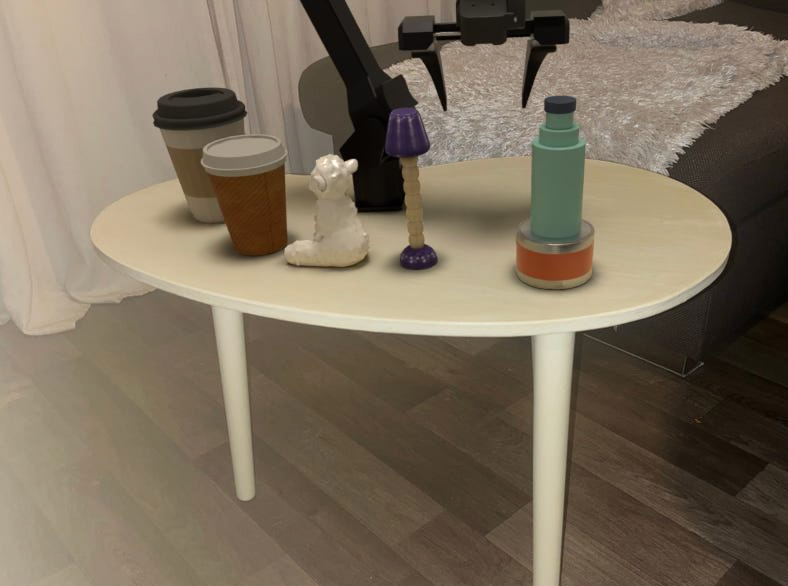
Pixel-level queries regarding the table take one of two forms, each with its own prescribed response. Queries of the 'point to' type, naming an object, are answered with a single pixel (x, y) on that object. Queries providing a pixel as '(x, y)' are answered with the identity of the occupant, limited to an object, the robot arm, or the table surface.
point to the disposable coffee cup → (250, 190)
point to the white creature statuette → (332, 219)
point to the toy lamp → (411, 181)
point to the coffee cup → (198, 139)
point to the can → (554, 257)
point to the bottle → (557, 172)
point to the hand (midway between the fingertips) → (484, 109)
